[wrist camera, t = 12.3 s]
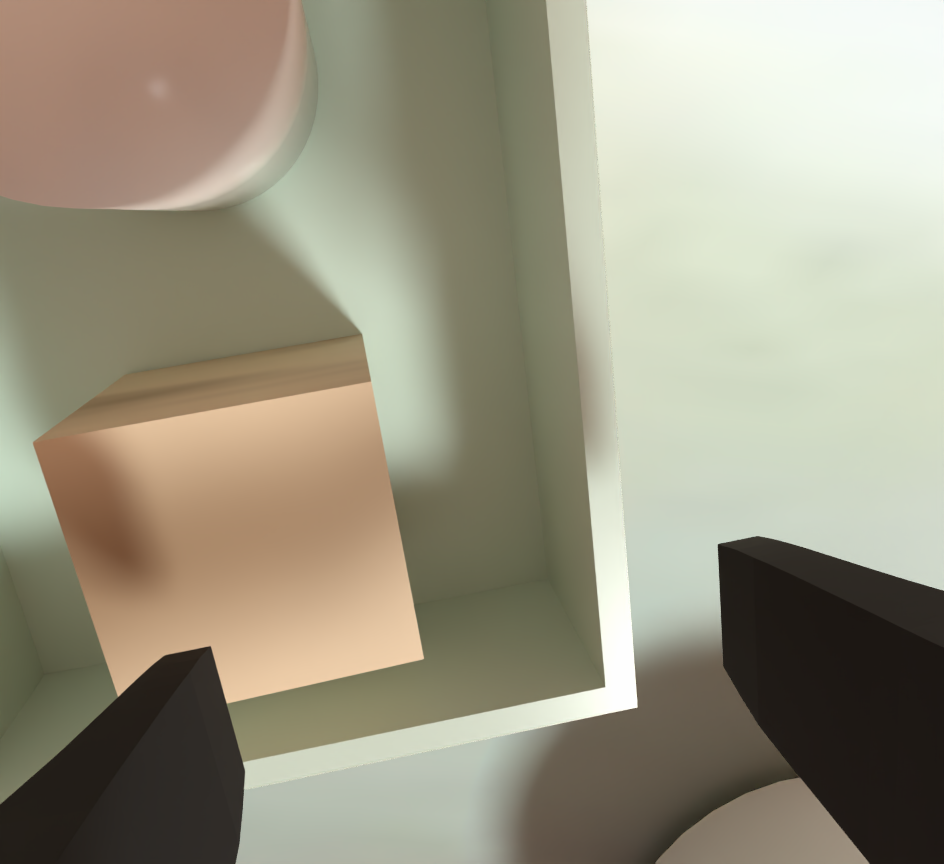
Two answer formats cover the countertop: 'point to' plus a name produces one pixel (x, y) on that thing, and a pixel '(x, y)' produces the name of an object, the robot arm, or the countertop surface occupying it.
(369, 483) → the maple cube
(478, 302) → the tote
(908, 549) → the countertop surface
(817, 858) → the saucepan
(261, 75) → the pale pink egg
